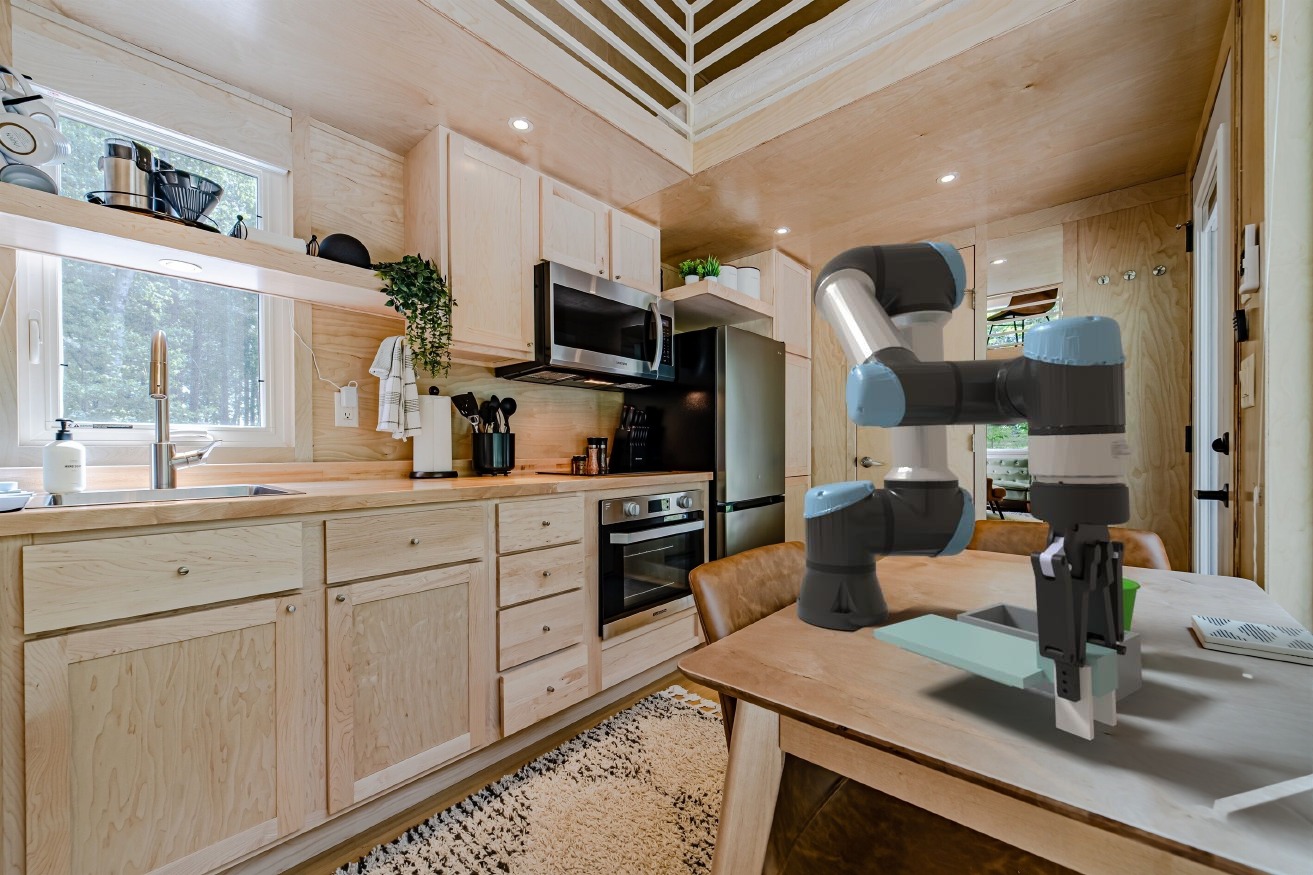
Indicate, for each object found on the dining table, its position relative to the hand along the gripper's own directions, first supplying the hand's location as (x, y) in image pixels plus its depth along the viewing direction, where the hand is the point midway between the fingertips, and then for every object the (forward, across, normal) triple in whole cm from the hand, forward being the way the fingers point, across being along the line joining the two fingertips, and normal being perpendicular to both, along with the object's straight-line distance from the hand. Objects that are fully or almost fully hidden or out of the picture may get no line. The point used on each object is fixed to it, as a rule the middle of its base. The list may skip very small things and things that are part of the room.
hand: (1086, 725), depth 51 cm
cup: (+3, +27, +9) cm, 28 cm away
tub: (+3, +15, +10) cm, 18 cm away
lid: (-3, 0, +9) cm, 9 cm away
